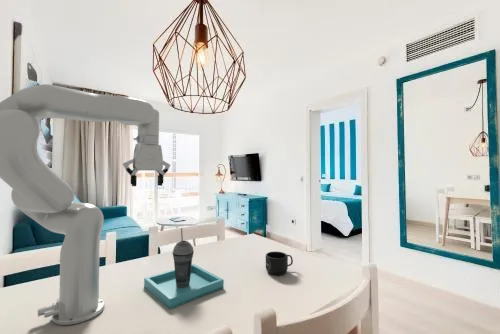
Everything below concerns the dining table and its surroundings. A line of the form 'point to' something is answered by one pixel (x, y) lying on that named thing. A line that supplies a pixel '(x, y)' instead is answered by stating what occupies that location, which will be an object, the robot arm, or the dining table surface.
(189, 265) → the beverage cup
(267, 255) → the mug
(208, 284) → the tray
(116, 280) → the dining table surface
